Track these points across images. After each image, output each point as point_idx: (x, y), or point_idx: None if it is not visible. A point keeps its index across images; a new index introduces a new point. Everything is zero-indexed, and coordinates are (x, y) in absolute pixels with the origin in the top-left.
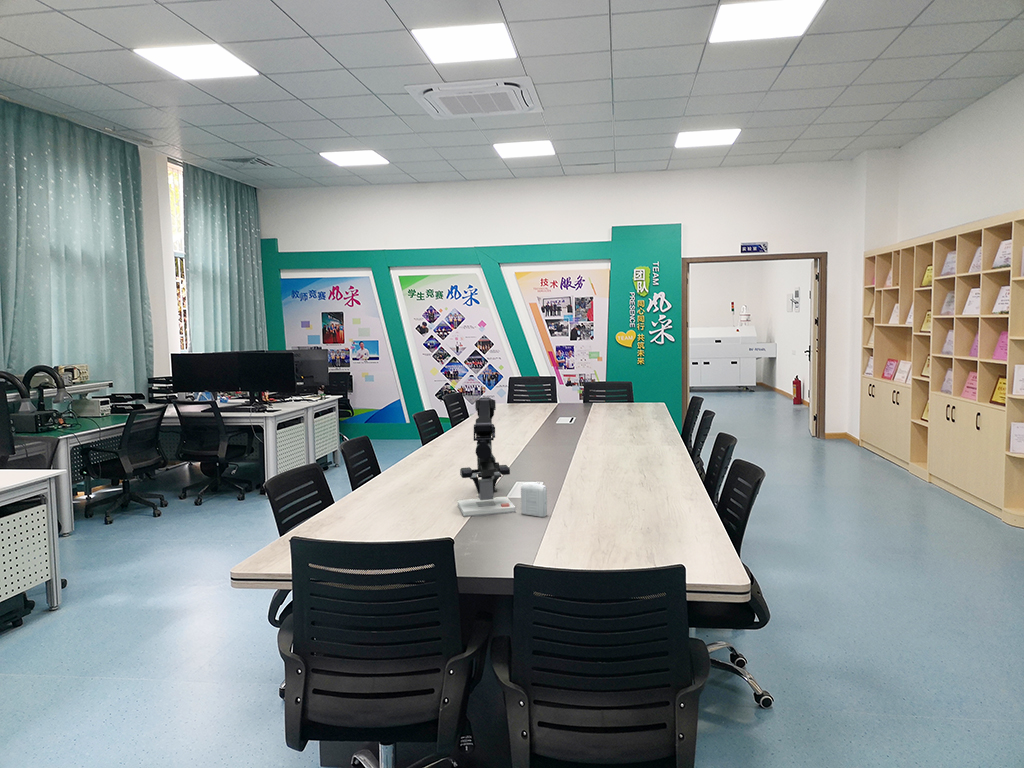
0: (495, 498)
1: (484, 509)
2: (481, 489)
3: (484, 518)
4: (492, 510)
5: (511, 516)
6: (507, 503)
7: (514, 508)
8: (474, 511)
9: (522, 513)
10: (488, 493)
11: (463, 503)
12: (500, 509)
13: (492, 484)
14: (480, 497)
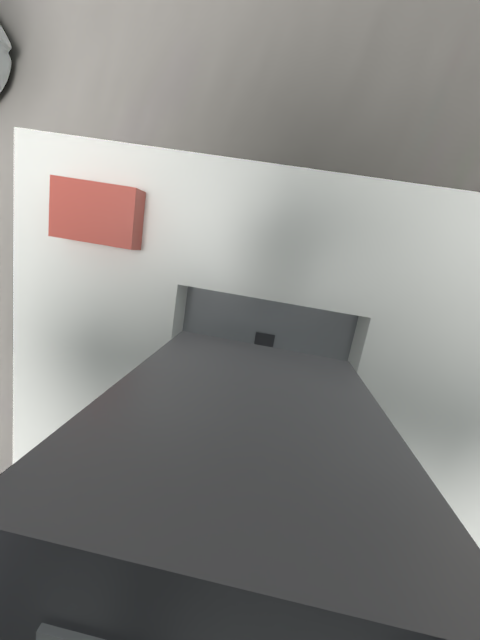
0: None
1: (351, 192)
2: (377, 440)
3: (394, 70)
4: (265, 167)
5: (123, 23)
6: (60, 227)
7: (35, 133)
8: (475, 195)
9: (3, 30)
10: (229, 371)
11: (457, 505)
12: (178, 152)
13: (56, 443)
14: (358, 375)
